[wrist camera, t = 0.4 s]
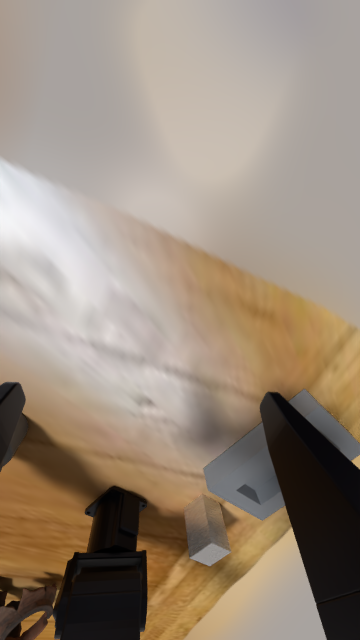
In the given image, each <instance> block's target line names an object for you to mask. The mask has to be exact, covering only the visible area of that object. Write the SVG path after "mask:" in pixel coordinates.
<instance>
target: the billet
mask: <svg viewBox="0 0 360 640" xmlns="http://www.w3.org/2000/svg"><path fill="white" fill-rule="evenodd" d="M184 513H185V522H186V531H187V540H188V549H189V558H190V559H193V560H195V561H198V562H200V563H203V564H205V565H208V566H211V565H212V564H214V563H215V562H217V561H218V560H220V559H221V558H223V557H224V556H226V555H227V554H229V553H230V552H231V548H230V544H229V540H228V536H227V532H226V528H225V524H224V519H223V515H222V511H221V507H220V503H219V502H217V501H215V500H213V499H211V498H209V497H208V496H206V495H204V494H201V495H200V496H199V497H197V498H196V499H195V500H193V501H192V502H191V503H189V504H188V505H187V506H185V507H184Z"/></svg>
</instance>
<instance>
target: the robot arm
mask: <svg viewBox="0 0 360 640" xmlns="http://www.w3.org/2000/svg"><path fill="white" fill-rule="evenodd" d="M25 400H26V399H25V395H24V392H23V389H22V386H21V384H20V383H19V382H5V383H3V384H2V385H0V465H1V463H2V461H3V459H4V457H5V455H6V452H7V450H8V448H9V445H10V443H11V440H12V438H13V435H14V432H15V429H16V427H17V424H18V421H19V418H20V416H21V413H22V410H23V407H24V405H25ZM260 413H261V418H262V423H263V428H264V432H265V437H266V442H267V447H268V451H269V454H270V457H271V461H272V464H273V467H274V470H275V474H276V477H277V480H278V483H279V486H280V490H281V493H282V496H283V499H284V503H285V506H286V509H287V512H288V515H289V519H290V522H291V525H292V528H293V532H294V535H295V538H296V541H297V544H298V547H299V550H300V554H301V557H302V560H303V564H304V567H305V570H306V573H307V576H308V580H309V583H310V586H311V589H312V593H313V596H314V599H315V602H316V606H317V609H318V612H319V616H320V619H321V622H322V626H323V629H324V632H325V635H326V638H327V640H360V469H359V468H358V467H356V466H355V465H354V464H353V463H352V462H351V461H350V460H349V459H348V458H347V457H346V456H345V455H344V454H343V453H342V452H341V451H340V450H339V449H338V448H336V447H335V446H334V445H333V444H332V443H331V442H330V441H329V440H328V439H327V438H326V437H325V436H324V435H323V434H322V433H321V432H320V431H319V430H317V429H316V428H315V427H314V426H313V425H312V424H311V423H310V422H309V421H308V420H307V419H306V418H305V417H304V416H303V415H302V414H301V413H300V412H299V411H297V410H296V409H295V408H294V407H293V406H292V405H291V404H290V403H289V402H288V401H287V400H286V399H285V398H284V397H283V396H282V395H281V394H279V393H278V392H267V393H266V394H265V396H264V398H263V400H262V402H261V404H260ZM146 507H147V502H146V501H145V500H143V499H140V498H138V497H136V496H134V495H132V494H130V493H128V492H126V491H124V490H121V489H119V488H117V487H115V486H113V487H111V488H109V489H108V490H107V491H106V492H105V493H104V494H102V495H101V496H100V497H99V498H98V499H97V500H95V501H94V502H93V503H92V504H91V505H90V506H88V507H87V508H86V510H85V514H86V515H88V516H91V517H93V523H92V528H91V533H90V538H89V543H88V548H87V553H79V552H75V553H74V556H73V558H72V559H71V560H69V561H68V562H67V566H66V570H65V574H64V578H63V582H62V585H61V588H60V591H59V594H58V597H57V600H56V603H55V606H54V609H53V617H54V619H55V621H56V622H55V628H56V630H55V637H54V639H60V640H140V632H144V630H145V625H146V615H147V556H146V550H142V551H136V548H137V535H138V530H139V512H141V511H142V510H143V509H144V508H146Z"/></svg>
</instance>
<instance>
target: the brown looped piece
mask: <svg viewBox="0 0 360 640" xmlns="http://www.w3.org/2000/svg"><path fill="white" fill-rule="evenodd" d="M56 591H57V588H56V584H55V583H54V584H53V585H52V586H49V585H47V586H45V587H39V588H38V589H35V590H33V591H29V590H28V589H26V588H24V589H23V594H22V598H21V601H11V602H10V603H9V604H7V605H6V606H5V599H6V596H7V591H0V640H34V639H35V638H36V637H37V636H38V635H39V634H40V633H41V632H42V631H43V629H44V628H45V627H46V625H47V624H48V621H47V619H49V618H50V616H51V615H52V614H53V606H52V604H53V602H54V598H55V595H56ZM39 611H45V613H44V614H43V615H42V617H41V618H40V619H39V620H38V621H37V622H36V623H35V624H34V625H33V626H32V627H31V628H29V629H28V630H27V631H25V632H23V634H22V635H21V636H20V632H21V629H22V628H21V621H23V620H24V619H25V618H27V617H29V616H30V615H32V614H34V613H36V612H39Z"/></svg>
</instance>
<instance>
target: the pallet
mask: <svg viewBox="0 0 360 640" xmlns="http://www.w3.org/2000/svg"><path fill="white" fill-rule="evenodd" d="M288 402H289V403H290V404H291V405H292V406H293V407H294V408H295V409H296V410H297V411H299V412H300V413H301V414H302V415H303V416H304V417H305V418H306V419H307V420H308V421H309V422H310V423H311V424H312V425H313V426H314V427H315V428H316V429H317V430H319V431H320V432H321V433H322V434H323V435H324V436H325V437H326V438H327V439H328V440H329V441H330V442H331V443H332V444H333V445H334V446H335V447H336V448H338V449H339V450H340V451H341V452H342V453H343V454H344V455H345V456H346V457H347V458H348V459H349V460H350V461H351V460H353V459H354V458H356V457H357V456H359V455H360V443H359V442H358V441H357V440H356V439H355V438H354V437H353V436H352V435H351V434H350V433H349V432H348V431H347V430H346V429H345V428H344V427H343V426H342V425H341V424H340V423H339V422H338V421H337V420H336V419H335V418H334V417H333V416H332V415H331V414H330V413H329V412H328V411H327V410H326V409H325V408H324V407H323V406H322V405H321V404H320V403H319V402H318V401H317V400H316V399H315V398H314V397H313V396H312V395H311V394H310V393H308V392H307V391H306V390H305V389H304V390H302V391H301V392H300V393H298V394H297V395H296V396H295V397H293V398H292V399H291V400H290V401H288ZM203 469H204V474H205V478H206V483H207V488H208V491H210V492H212V493H213V494H215V495H217V496H219V497H221V498H222V499H224V500H226V501H228V502H230V503H231V504H233V505H235V506H237V507H239V508H240V509H242V510H244V511H246V512H248V513H249V514H251V515H253V516H255V517H257V518H258V519H260V520H262V521H263V520H264V519H266V518H267V517H269V516H270V515H272V514H273V513H275V512H276V511H277V510H279V509H280V508H282V507H283V506H285V503H284V499H283V496H282V493H281V490H280V486H279V483H278V480H277V477H276V474H275V470H274V467H273V464H272V461H271V457H270V454H269V451H268V447H267V442H266V437H265V432H264V428H263V423H260V424H259V425H258V426H257V427H255V428H254V429H253V430H252V431H250V432H249V433H248V434H246V435H245V436H244V437H243V438H241V439H240V440H239V441H238V442H236V443H235V444H234V445H233V446H231V447H230V448H229V449H227V450H226V451H225V452H224V453H222V454H221V455H220V456H219V457H217V458H216V459H215V460H214V461H212V462H211V463H210V464H208V465H207V466H206V467H205V468H203Z"/></svg>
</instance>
